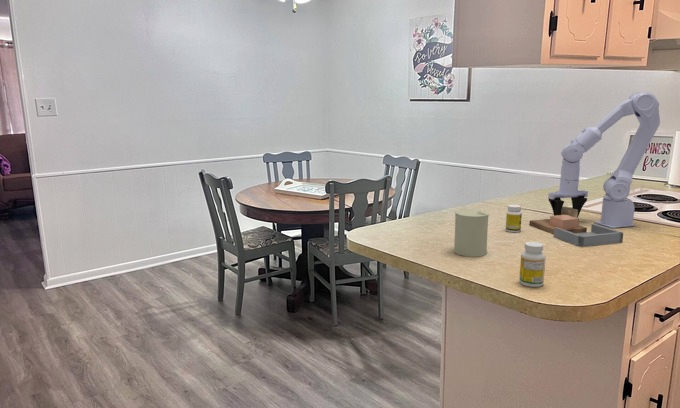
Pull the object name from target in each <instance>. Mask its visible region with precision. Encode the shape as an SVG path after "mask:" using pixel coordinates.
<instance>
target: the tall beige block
mask: <svg viewBox="0 0 680 408" xmlns="http://www.w3.org/2000/svg"><path fill="white" fill-rule="evenodd" d="M577 214H578V210H576V209H573V208H572V207H569V206H562V210H561V215H568V216H572V217H575V218H577Z"/></svg>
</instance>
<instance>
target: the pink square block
mask: <svg viewBox="0 0 680 408" xmlns="http://www.w3.org/2000/svg"><path fill="white" fill-rule="evenodd" d="M549 219H550V225H551V226H554V227H558V228H561V229H571V228H578V225H579V221H580V218H579V217H578V218H575V217H572V216H568V215H556V216H554V215H550V216H549Z"/></svg>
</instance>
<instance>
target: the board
mask: <svg viewBox="0 0 680 408" xmlns="http://www.w3.org/2000/svg"><path fill="white" fill-rule="evenodd" d="M528 225H529V226H530V227H533V228H535V229H538V230H541V231H543V232H547V233H549V234H552V235H554V228H555V227H554V226H551V225H550V218H544V219H532V220H529V224H528ZM587 229H588V227H585V226H582V225H579V224H578V228H571V229H563V230H566V231H569V232H572V233H585V232H587V231H588V230H587Z"/></svg>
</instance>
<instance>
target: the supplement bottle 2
mask: <svg viewBox="0 0 680 408" xmlns="http://www.w3.org/2000/svg"><path fill="white" fill-rule="evenodd" d="M523 248H524V250H523V251H522V252H521V255H520V267H519V268H520V269H519V283H520V284H521V285H522V286H523V285H524V286H526V287H530V288H540V287H542V286H543V285H544V282H545V269H546V254H545V253H544V252H543V251H544V244H543V243H540V242H537V241H527V242H524V247H523Z"/></svg>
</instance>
